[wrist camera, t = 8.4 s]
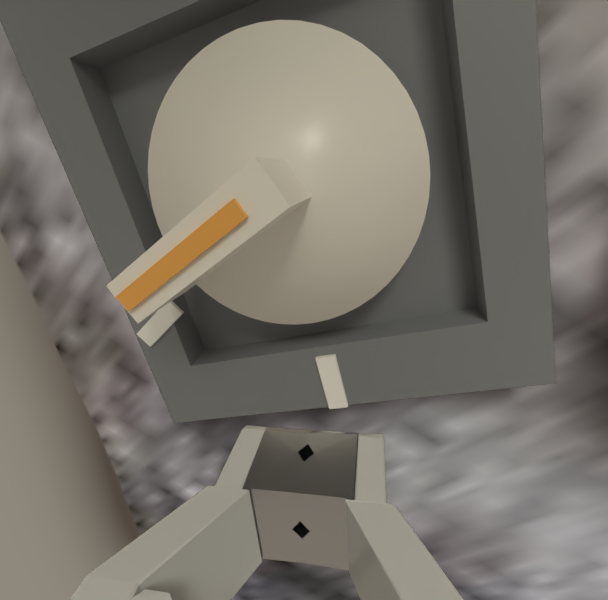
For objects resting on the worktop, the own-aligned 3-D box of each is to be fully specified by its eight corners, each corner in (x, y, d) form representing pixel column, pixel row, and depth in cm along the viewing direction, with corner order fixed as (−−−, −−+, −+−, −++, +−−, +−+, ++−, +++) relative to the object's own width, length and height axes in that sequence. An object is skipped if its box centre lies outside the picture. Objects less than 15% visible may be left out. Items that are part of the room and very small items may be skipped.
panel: (45, 12, 18) (-21, -19, 15) (487, -206, 13) (522, -320, 10) (197, 393, 24) (172, 425, 21) (529, 351, 19) (557, 385, 16)
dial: (319, -39, 14) (279, -184, 8) (476, 222, 16) (532, 253, 10) (118, 168, 18) (0, 169, 12) (263, 351, 20) (219, 424, 15)
